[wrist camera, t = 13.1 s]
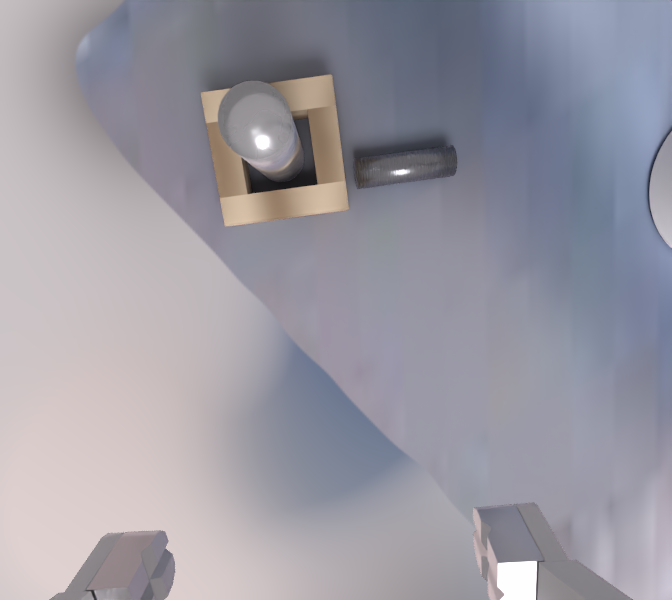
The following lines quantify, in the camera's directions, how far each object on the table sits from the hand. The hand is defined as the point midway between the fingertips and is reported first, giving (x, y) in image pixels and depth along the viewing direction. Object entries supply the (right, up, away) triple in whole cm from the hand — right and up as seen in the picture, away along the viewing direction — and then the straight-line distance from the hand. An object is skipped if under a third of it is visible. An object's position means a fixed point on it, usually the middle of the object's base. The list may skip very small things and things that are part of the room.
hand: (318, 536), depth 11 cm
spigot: (-4, +18, +23) cm, 30 cm away
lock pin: (+6, +16, +24) cm, 29 cm away
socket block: (-4, +18, +23) cm, 30 cm away
